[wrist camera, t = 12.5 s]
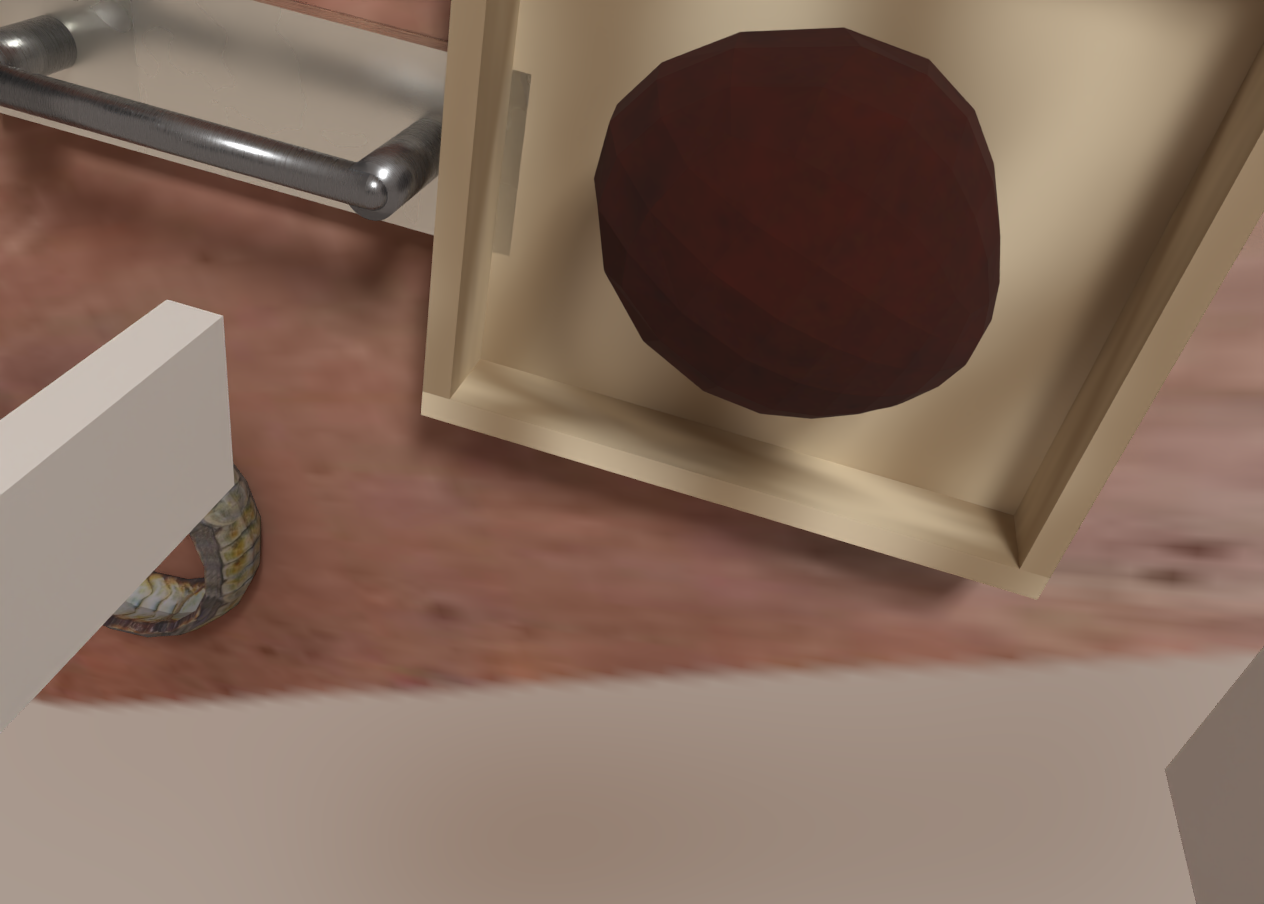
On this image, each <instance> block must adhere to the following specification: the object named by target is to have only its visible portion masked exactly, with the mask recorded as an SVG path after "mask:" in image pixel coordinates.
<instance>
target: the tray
mask: <svg viewBox="0 0 1264 904" xmlns="http://www.w3.org/2000/svg"><path fill="white" fill-rule="evenodd" d="M841 27H844V28H847V29H850V30H852V31H855V32H858V33H860V34H863V35H866V36H868V37H871V38H874V39H876V40H879V41H882V42H884V43H887V44H890V45H893V46H895V47H898V48H901V49H903V50H906V51H909V52H911V53H914V54H917V55H919V56H922V57H925V58H927V59H929V60H930V61H931V62H932V63H933V64H934V65H935V66H936V67H937V68H938V70H939V71H940V72H941V73H942V74H943V75H944V76H945V77H946V78H947V80H948V81H949V82H950V83H951V84H952V85H953V86H954V87H955V88H956V90H957V91H958V92H959V93H960V94H961V95H962V96H963V97H964V98H965V100H966V101H967V102H968V103H969V104H970V105H971V106H972V107H973V108H974V110H975V112H976V114H977V117H978V120H979V123H980V126H981V128H982V131H983V134H984V137H985V140H986V143H987V145H988V148H989V151H990V154H991V157H992V159H993V162H994V168H995V179H996V190H997V201H998V212H999V224H1000V284H999V288H998V293H997V298H996V302H995V307H994V312H993V316H992V320H991V322H990V324H989V326H988V327H987V329H986V331H985V333H984V335H983V336H982V338H981V340H980V342H979V343H978V345H977V347H976V349H975V350H974V352H973V354H972V355H971V357H970V359H969V361H968V362H967V364H966V365H965V366H964V367H963V368H961V369H960V370H959V371H958V372H956V373H955V374H954V375H953V376H951V377H950V378H949V379H948V380H946V381H945V382H944V383H943V384H941V385H940V386H939V387H937V388H935V389H932V390H930V391H928V392H926V393H924V394H921V395H919V396H917V397H915V398H913V399H910V400H908V401H906V402H904V403H902V404H899V405H896V406H893V407H889V408H883V409H878V410H874V411H870V412H866V413H862V414H856V415H845V416H835V417H825V418H815V419H808V418H798V417H787V416H777V415H767V414H759V413H757V412H754V411H752V410H749V409H747V408H744V407H742V406H739V405H737V404H734V403H732V402H729V401H727V400H724V399H722V398H719V397H717V396H714V395H712V394H709V393H707V392H704V391H703V390H701V389H700V388H699V387H698V386H696V385H695V384H694V383H693V382H692V381H690V380H689V379H688V378H687V377H686V376H684V375H683V374H682V373H681V372H680V371H678V370H677V369H676V368H675V367H674V366H672V365H671V364H670V363H669V362H668V361H666V360H665V359H664V358H663V357H661V356H660V355H659V354H658V353H657V352H655V351H654V350H653V349H652V348H651V347H649V346H648V345H647V344H646V343H645V342H643V340H642V338H641V337H640V335H639V333H638V331H637V329H636V328H635V326H634V324H633V322H632V320H631V319H630V317H629V315H628V313H627V311H626V310H625V308H624V306H623V304H622V302H621V301H620V299H619V297H618V295H617V293H616V292H615V290H614V288H613V286H612V284H611V283H610V281H609V279H608V277H607V275H606V274H605V272H604V267H603V257H602V247H601V237H600V227H599V217H598V207H597V199H596V191H595V184H594V176H595V172H596V169H597V165H598V161H599V158H600V154H601V150H602V147H603V143H604V139H605V136H606V132H607V129H608V125H609V122H610V119H611V117H612V115H613V112H614V110H615V108H616V105H617V104H618V103H619V102H620V101H621V100H622V99H623V98H624V97H625V96H626V95H627V94H628V93H629V92H631V91H632V90H633V89H634V88H635V87H636V86H637V85H638V84H639V83H640V82H641V81H642V80H643V79H644V78H646V77H647V76H648V75H649V74H650V73H651V72H652V71H653V70H654V69H655V68H656V67H657V66H658V65H659V64H661V63H662V62H664V61H666V60H669V59H671V58H674V57H677V56H679V55H682V54H684V53H687V52H689V51H692V50H695V49H697V48H700V47H702V46H705V45H708V44H710V43H713V42H715V41H718V40H720V39H723V38H726V37H728V36H731V35H733V34H736V33H738V32H747V31H770V30H794V29H818V28H841ZM512 70H514V71H513V73H512ZM515 70H516V71H517V72H516V71H515ZM519 71H521V72H522V73H523V72H524V73H528V74H530V75H531V81H530V80H529V81H530V82H531V83H530V89H528V90H530V91H529V92H528V93H529V94H528V95H529V100H527V99H526V100H527V101H528V108H527V102H523V103H525V104H526V105H525V104H523V103H522V101H521V100H523V101H524V100H525V98H524V97H525V95H524V94H523V93H524V92H523V91H521V90H524V89H525V88H524V89H522V88H521V87H520V86H522V87H523V85H522V84H521V80H520V79H518V78H520V73H518V72H519ZM514 73H518V74H517V77H518V76H519V77H518V78H517V77H516V74H515V75H514ZM512 74H513V75H514V76H512ZM522 75H523V74H522ZM512 77H513V79H512ZM526 77H527V76H526ZM528 77H529V75H528ZM514 78H515V80H516V78H517V80H516V81H518V82H516V81H515V82H516V83H517V84H521V85H519V87H520V88H518V87H517V86H518V85H517V84H516V83H514V84H511V82H512V83H513V82H514ZM511 79H512V81H511ZM524 79H525V78H524ZM525 80H526V79H525ZM519 81H520V82H519ZM523 81H524V80H523ZM527 82H528V81H527ZM511 85H512V86H511ZM513 85H514V87H513ZM527 85H528V84H527ZM525 86H526V85H525ZM511 87H512V89H510V88H511ZM517 88H518V89H517ZM514 89H515V90H514ZM516 89H517V90H516ZM520 89H521V90H520ZM510 90H511V91H515V93H513V92H512V93H511V92H510ZM518 90H519V93H518V94H517V93H516V91H517V92H518ZM520 91H521V93H522V94H523V95H524V96H523V95H522V94H521V93H520ZM526 92H527V91H526ZM510 93H511V94H510ZM512 94H515V95H514V96H515V97H514V96H513V95H512ZM520 94H521V95H522V96H521V95H520ZM519 95H520V98H519V99H521V98H523V99H521V100H520V101H519V99H518V98H517V97H519ZM526 95H527V94H526ZM511 96H513V98H512V97H511ZM526 97H527V96H526ZM509 98H512V99H514V100H515V101H514V100H512V99H509ZM516 99H517V101H516ZM526 100H525V101H526ZM509 101H510V102H512V101H513V102H514V103H512V105H511V103H510V102H509ZM517 102H518V103H519V105H518V104H517V105H516V103H517ZM509 104H510V105H509ZM513 104H515V105H516V106H515V105H514V108H518V106H519V108H520V109H522V110H520V109H517V110H516V109H514V108H513ZM522 104H523V105H522ZM524 105H525V106H524ZM520 106H522V107H520ZM508 107H512V108H509V109H510V110H509V109H508ZM523 107H524V109H525V107H526V109H525V110H524V109H523ZM511 110H512V111H511ZM516 111H519V112H516ZM523 111H524V113H523ZM509 112H510V113H509ZM511 112H512V113H513V112H514V113H515V114H512V113H511ZM521 112H522V113H521ZM526 112H527V113H526ZM508 113H509V115H507V114H508ZM516 113H517V115H516ZM520 113H521V114H520ZM518 114H520V116H521V115H522V114H523V115H522V117H523V118H522V117H520V116H519V118H520V120H521V121H520V120H518V119H519V118H518ZM524 114H526V115H527V116H525V115H524ZM510 115H511V116H510ZM513 115H515V117H514V116H513ZM509 117H510V118H509ZM511 117H512V120H511ZM513 117H514V118H515V119H517V118H518V119H517V120H514V118H513ZM516 117H517V118H516ZM524 117H525V118H524ZM521 118H522V119H523V120H522V119H521ZM524 119H525V121H524ZM507 120H509V121H507ZM512 121H514V122H512ZM515 121H516V122H517V123H516V122H515ZM509 122H510V123H509ZM511 122H512V124H513V123H515V124H513V125H512V124H511ZM518 122H519V124H518ZM520 122H522V123H520ZM524 122H526V123H525V125H524ZM508 123H509V124H508ZM507 124H508V127H507ZM509 125H510V127H509ZM511 125H512V126H511ZM516 125H517V126H516ZM523 125H524V126H523ZM513 126H515V127H517V128H518V126H519V127H520V126H521V127H520V128H522V129H523V130H522V129H520V128H518V129H517V128H515V130H511V129H510V128H512V129H514V127H513ZM507 128H509V129H508V130H507ZM524 128H525V129H524ZM516 129H517V131H519V132H518V133H520V132H521V133H520V134H519V136H517V135H518V133H517V131H516ZM509 130H510V132H509ZM511 131H512V132H511ZM513 131H514V132H513ZM515 131H516V132H515ZM522 131H523V132H522ZM506 132H507V133H506ZM522 133H524V134H522ZM507 134H512V135H507ZM515 134H516V136H515ZM505 135H506V137H505ZM520 135H521V136H522V137H521V136H520ZM512 136H513V137H514V136H515V137H514V138H513V137H512ZM523 136H524V137H523ZM507 137H508V138H507ZM510 137H512V138H510ZM505 138H506V140H505ZM517 138H518V139H520V140H522V139H524V141H523V140H522V141H521V142H518V141H520V140H518V139H517ZM521 138H522V139H521ZM507 139H508V143H507V142H506V141H507ZM509 139H510V140H509ZM511 139H512V140H511ZM511 142H513V143H511ZM504 143H505V144H508V145H509V146H508V147H507V145H504ZM518 143H519V145H518ZM520 144H521V145H520ZM512 145H513V148H512V150H513V152H511V151H512V150H510V149H511V147H512ZM515 145H516V146H515ZM514 146H515V147H514ZM519 146H520V147H521V148H522V149H521V148H520V147H519ZM504 147H505V148H504ZM506 147H507V148H506ZM517 147H518V149H519V148H520V149H519V150H518V149H517ZM508 148H510V149H508ZM504 149H506V150H507V149H508V150H507V151H506V150H504ZM516 149H517V150H516ZM503 151H504V153H503ZM508 151H509V152H508ZM518 151H519V153H521V152H522V153H521V155H522V156H520V155H518V154H519V153H518ZM506 152H508V153H510V154H508V156H507V153H506ZM515 152H516V153H515ZM512 153H514V154H512ZM515 154H516V156H517V155H518V156H520V158H517V157H518V156H517V157H515V156H514V155H515ZM503 155H504V157H503ZM505 155H506V157H505ZM509 156H510V157H509ZM512 156H514V157H515V158H514V157H512ZM516 158H517V159H516ZM504 159H505V160H504ZM511 159H514V160H511ZM515 159H516V161H515ZM518 159H521V160H519V161H518ZM502 160H503V161H504V162H505V164H503V163H504V162H503V161H502ZM507 161H508V162H507ZM509 161H510V162H509ZM513 161H515V162H513ZM502 162H503V163H502ZM516 162H517V163H516ZM520 163H521V164H520ZM507 164H508V165H507ZM513 164H515V165H516V164H517V166H516V167H515V169H516V168H517V167H518V168H517V169H516V172H515V170H514V166H515V165H513ZM503 166H504V167H503ZM505 166H506V167H505ZM507 166H509V167H507ZM502 167H503V168H504V169H505V168H506V169H505V170H504V169H502ZM507 168H508V169H509V168H510V169H509V170H507ZM519 168H520V169H519ZM503 170H504V171H506V172H503ZM517 170H518V171H519V173H520V174H519V173H518V171H517ZM509 171H510V172H509ZM502 172H503V173H504V174H506V175H503V176H504V177H502V174H501V173H502ZM513 172H514V173H515V174H513ZM510 173H511V174H510ZM507 174H508V175H507ZM512 174H513V175H512ZM510 175H511V176H510ZM515 175H516V176H517V175H519V176H517V177H516V176H515ZM505 176H506V178H505ZM515 177H516V178H517V179H516V178H515ZM504 178H505V180H503V179H504ZM507 178H508V179H507ZM514 178H515V179H514ZM510 179H511V180H510ZM508 180H509V181H508ZM514 180H515V182H516V181H519V182H516V183H515V182H514ZM500 181H501V182H500ZM503 182H505V183H503ZM510 182H511V183H510ZM509 183H510V184H509ZM512 183H513V184H512ZM502 184H503V185H502ZM504 184H505V185H506V186H505V185H504ZM517 184H518V186H517ZM509 185H510V186H509ZM512 185H513V187H512ZM507 186H508V187H507ZM503 187H504V188H503ZM499 188H500V189H499ZM509 188H510V189H509ZM504 189H505V190H506V191H505V190H504ZM512 189H513V190H512ZM499 190H501V191H499ZM507 190H508V191H507ZM511 190H512V191H513V192H512V191H511ZM509 191H510V192H509ZM515 191H516V193H515ZM504 192H506V193H504ZM507 192H508V193H507ZM503 193H504V194H503ZM510 193H511V194H510ZM509 194H510V195H509ZM516 194H517V196H516ZM501 195H502V196H501ZM504 195H506V196H507V195H508V196H507V197H505V196H504ZM509 196H512V197H509ZM513 197H514V198H513ZM501 198H502V199H503V198H504V199H503V200H502V199H501ZM507 198H509V199H510V198H512V199H510V201H509V199H508V200H507ZM498 199H499V200H500V201H499V200H498ZM514 199H515V200H516V201H514ZM501 200H502V201H501ZM504 201H505V202H504ZM508 201H509V202H508ZM511 201H512V202H511ZM498 202H499V204H498ZM510 202H511V203H510ZM513 202H515V203H516V204H515V203H513ZM501 203H502V205H501ZM505 204H506V205H505ZM508 204H509V205H508ZM511 204H512V205H511ZM499 205H500V206H499ZM503 205H504V206H506V207H504V206H503ZM514 205H515V206H514ZM498 206H499V207H498ZM509 206H510V207H509ZM511 207H512V208H511ZM502 209H503V210H502ZM497 210H498V211H499V212H498V211H497ZM509 210H510V211H509ZM511 210H512V211H511ZM501 211H502V212H503V213H502V212H501ZM509 212H510V213H509ZM1263 212H1264V0H451V10H450V23H449V37H448V51H447V64H446V78H445V92H444V105H443V119H442V133H441V146H440V160H439V174H438V187H437V201H436V215H435V228H434V242H433V256H432V269H431V283H430V297H429V310H428V324H427V338H426V351H425V365H424V379H423V392H422V406H421V415H424V416H427V417H430V418H434V419H437V420H440V421H444V422H447V423H450V424H454V425H457V426H460V427H464V428H467V429H470V430H474V431H477V432H480V433H484V434H487V435H490V436H494V437H497V438H500V439H503V440H507V441H510V442H513V443H517V444H520V445H523V446H527V447H530V448H533V449H537V450H540V451H543V452H547V453H550V454H553V455H557V456H560V457H563V458H567V459H570V460H573V461H577V462H580V463H583V464H587V465H590V466H593V467H597V468H600V469H603V470H607V471H610V472H613V473H617V474H620V475H623V476H627V477H630V478H633V479H637V480H640V481H643V482H647V483H650V484H653V485H657V486H660V487H663V488H667V489H670V490H673V491H677V492H680V493H683V494H687V495H690V496H693V497H697V498H700V499H703V500H707V501H710V502H713V503H717V504H720V505H723V506H727V507H730V508H733V509H737V510H740V511H743V512H747V513H750V514H753V515H757V516H760V517H763V518H767V519H770V520H773V521H777V522H780V523H783V524H787V525H790V526H793V527H797V528H800V529H803V530H807V531H810V532H813V533H817V534H820V535H823V536H827V537H830V538H833V539H837V540H840V541H843V542H846V543H850V544H853V545H856V546H860V547H863V548H866V549H870V550H873V551H876V552H880V553H883V554H886V555H890V556H893V557H896V558H900V559H903V560H906V561H910V562H913V563H916V564H920V565H923V566H926V567H930V568H933V569H936V570H940V571H943V572H946V573H950V574H953V575H956V576H960V577H963V578H966V579H970V580H973V581H976V582H980V583H983V584H986V585H990V586H993V587H996V588H1000V589H1003V590H1006V591H1010V592H1013V593H1016V594H1020V595H1023V596H1026V597H1030V598H1033V599H1036V600H1037V599H1038V598H1039V596H1040V594H1041V592H1042V591H1043V589H1044V587H1045V586H1046V584H1047V582H1048V580H1049V579H1050V577H1051V575H1052V574H1053V572H1054V570H1055V568H1056V567H1057V565H1058V563H1059V562H1060V560H1061V558H1062V556H1063V555H1064V553H1065V551H1066V550H1067V548H1068V546H1069V544H1070V543H1071V541H1072V539H1073V538H1074V536H1075V534H1076V532H1077V531H1078V529H1079V527H1080V526H1081V524H1082V522H1083V520H1084V519H1085V517H1086V515H1087V514H1088V512H1089V510H1090V508H1091V507H1092V505H1093V503H1094V501H1095V500H1096V498H1097V496H1098V495H1099V493H1100V491H1101V489H1102V488H1103V486H1104V484H1105V483H1106V481H1107V479H1108V477H1109V476H1110V474H1111V472H1112V471H1113V469H1114V467H1115V465H1116V464H1117V462H1118V460H1119V459H1120V457H1121V455H1122V453H1123V452H1124V450H1125V448H1126V447H1127V445H1128V443H1129V441H1130V440H1131V438H1132V436H1133V435H1134V433H1135V431H1136V429H1137V428H1138V426H1139V424H1140V423H1141V421H1142V419H1143V417H1144V416H1145V414H1146V412H1147V411H1148V409H1149V407H1150V405H1151V404H1152V402H1153V400H1154V399H1155V397H1156V395H1157V393H1158V392H1159V390H1160V388H1161V387H1162V385H1163V383H1164V381H1165V380H1166V378H1167V376H1168V375H1169V373H1170V371H1171V369H1172V368H1173V366H1174V364H1175V363H1176V361H1177V359H1178V357H1179V356H1180V354H1181V352H1182V351H1183V349H1184V347H1185V345H1186V344H1187V342H1188V340H1189V339H1190V337H1191V335H1192V333H1193V332H1194V330H1195V328H1196V327H1197V325H1198V323H1199V321H1200V320H1201V318H1202V316H1203V315H1204V313H1205V311H1206V309H1207V308H1208V306H1209V304H1210V303H1211V301H1212V299H1213V297H1214V296H1215V294H1216V292H1217V291H1218V289H1219V287H1220V285H1221V284H1222V282H1223V280H1224V279H1225V277H1226V275H1227V273H1228V272H1229V270H1230V268H1231V267H1232V265H1233V263H1234V261H1235V260H1236V258H1237V256H1238V255H1239V253H1240V251H1241V249H1242V248H1243V246H1244V244H1245V243H1246V241H1247V239H1248V237H1249V236H1250V234H1251V232H1252V231H1253V229H1254V227H1255V225H1256V224H1257V222H1258V220H1259V219H1260V217H1261V215H1262V213H1263ZM507 213H508V214H507ZM511 213H512V214H511ZM498 214H499V215H498ZM506 214H507V215H506ZM510 214H511V215H510ZM505 215H506V216H505ZM508 215H510V216H508ZM512 215H513V216H512ZM511 216H512V217H511ZM503 217H504V218H505V219H504V218H503ZM506 217H507V218H508V219H507V218H506ZM509 217H510V218H509ZM513 217H514V218H513ZM498 218H499V219H500V220H499V219H498ZM501 218H502V219H501ZM511 218H513V219H511ZM496 219H498V220H497V221H496ZM506 219H507V220H506ZM509 219H510V220H509ZM502 220H504V221H502ZM513 220H514V221H513ZM498 221H499V222H501V223H498ZM507 221H508V224H506V223H507ZM511 221H512V222H511ZM503 222H504V223H503ZM496 224H498V225H499V224H500V225H499V228H498V225H496ZM501 224H502V225H501ZM511 224H512V226H511ZM503 225H504V226H503ZM506 225H508V226H506ZM509 226H510V227H509ZM503 228H504V229H503ZM506 228H507V229H506ZM511 228H512V231H511ZM500 229H501V230H502V231H501V230H500ZM499 230H500V231H499ZM508 230H509V231H508ZM496 231H497V232H496ZM505 231H506V232H505ZM495 232H496V233H495ZM500 232H502V233H500ZM505 233H506V234H508V235H506V234H505ZM500 234H501V235H500ZM503 234H504V235H503ZM498 235H500V236H498ZM502 235H503V236H502ZM504 236H505V237H504ZM510 237H511V238H510ZM505 238H506V239H505ZM504 239H505V240H504ZM507 239H508V240H507ZM496 240H497V241H496ZM499 240H500V241H501V242H500V241H499ZM510 240H511V241H510ZM509 241H510V242H509ZM506 242H507V243H506ZM493 243H494V244H493ZM498 243H499V244H498ZM504 244H506V245H504ZM493 245H495V246H493ZM508 245H509V246H508ZM496 246H497V247H496ZM503 246H504V247H503ZM505 247H506V248H505ZM493 248H494V249H493ZM506 249H507V250H506ZM509 250H510V251H509ZM496 251H497V252H496ZM505 252H506V253H505ZM509 253H510V254H509ZM504 254H505V255H504Z"/></svg>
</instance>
